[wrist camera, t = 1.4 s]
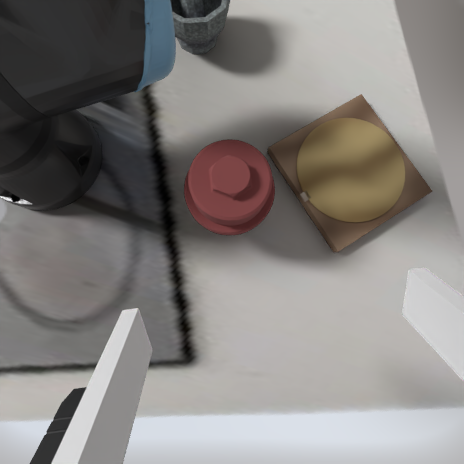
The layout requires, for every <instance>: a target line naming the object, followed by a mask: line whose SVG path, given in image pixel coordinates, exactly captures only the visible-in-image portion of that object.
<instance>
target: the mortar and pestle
mask: <svg viewBox="0 0 464 464" xmlns="http://www.w3.org/2000/svg"><path fill="white" fill-rule="evenodd" d="M170 2H171V7H172V14H173V22H174V30H175V37H177V39H178V41H179V43H180V45H181V48H182V49H184V50H186V51H188V52H190V53H192V54H202V53H206V52H208V51H209V50H210V49H212V48H213V47H214V46H215V44H216V40H217V36H218V34H220V32H221V31H222V29H223V28H224V25H225V21H226V17H227V13H228V9H229V3H230V0H170Z"/></svg>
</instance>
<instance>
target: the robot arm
mask: <svg viewBox="0 0 464 464" xmlns="http://www.w3.org/2000/svg"><path fill="white" fill-rule="evenodd" d="M175 55H176V41H175V30H174V22H173V14H172V7H171V2H170V0H0V198H2V199H3V200H5V201H7V202H9V203H12V204H15V205H18V206H21V207H24V208H27V209H32V210H51V209H56V208H60V207H63V206H65V205H68V204H70V203H72V202H73V201H75V200H77V199H78V198H79V197H81V196H82V195H83V194H84V193H85V192H86V191H87V190H88V189H89V188H90V187H91V185H92V184H93V182H94V181H95V179H96V177H97V175H98V173H99V170H100V166H101V161H102V148H101V143H100V140H99V137H98V135H97V133H96V131H95V129H94V128H93V127H92V125H91V124H90V123H89V122H88V121H87V120H86V119H85V117H84V116H83V115H82V114H81V113H79V112H78V111H77V110H76V109H79V108H82V107H86V106H89V105H92V104H95V103H98V102H102V101H105V100H108V99H111V98H114V97H118V96H121V95H124V94H127V93H130V92H138V91H139V90H141V89H142V88H143V87H144V86H147V85H149V84H152V83H154V82H157V81H159V80H162V79H164V78H165V77H166V76H168V75H169V73H170V72H171V71H172V69H173V66H174V62H175ZM402 315H403V316H404V317H405V318H406V319H407V320H408V322H409V323H410V324H411V325H412V326H413V327H414V328H415V329H416V330H417V331H418V332H419V333H420V335H421V336H422V337H423V338H424V339H425V340H426V341H427V342H428V343H429V344H430V345H431V347H432V348H433V349H434V350H435V351H436V352H437V353H438V354H439V355H440V356H441V357H442V358H443V360H444V361H445V362H446V363H447V364H448V365H449V366H450V367H451V368H452V369H453V370H454V371H455V373H456V374H457V375H458V376H459V377H460V378H461V379H462V380H463V381H464V296H463V295H462V294H460V293H459V292H457V291H456V290H455V289H453V288H452V287H451V286H449V285H448V284H447V283H445V282H444V281H443V280H441V279H440V278H439V277H437V276H436V275H435V274H433V273H432V272H431V271H429V270H428V269H426V268H425V267H422V268H415V269H409V272H408V278H407V285H406V291H405V297H404V304H403V310H402ZM151 354H152V347H151V344H150V341H149V338H148V335H147V332H146V329H145V326H144V323H143V320H142V317H141V314H140V311H139V308H135V309H128V310H123V311H122V313H121V315H120V317H119V319H118V321H117V323H116V326H115V328H114V330H113V332H112V334H111V336H110V339H109V341H108V343H107V345H106V347H105V349H104V351H103V354H102V356H101V358H100V360H99V362H98V364H97V366H96V369H95V371H94V373H93V375H92V377H91V379H90V382H89V384H88V386H87V387H85V388H78V389H74V390H73V391H72V392H71V393H70V394H69V395H68V396H67V398H66V399H65V400H64V401H63V402H62V403H61V405H60V407H59V409H58V411H57V413H56V415H55V417H54V420H53V422H51V424H50V426H49V428H48V430H47V434H46V435H45V436H44V438H43V440H42V441H41V443H40V445H39V447H38V449H37V451H36V453H35V455H34V457H33V458H32V460H31V462H30V464H123V461H124V457H125V453H126V449H127V446H128V442H129V438H130V434H131V430H132V426H133V423H134V419H135V415H136V411H137V407H138V404H139V400H140V396H141V392H142V388H143V385H144V381H145V377H146V373H147V369H148V366H149V362H150V358H151Z"/></svg>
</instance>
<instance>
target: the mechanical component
mask: <svg viewBox="0 0 464 464" xmlns="http://www.w3.org/2000/svg"><path fill="white" fill-rule="evenodd" d="M184 195H185V200H186V204H187V206H188V208H189V210H190V212H191V214H192V215H193V217H194V218H195V220H196V221H197V222H198V223H199V224H200V225H202V226H203V227H204V228H206V229H208V230H209V231H212V232H214V233H217V234H221V235H237V234H242V233H245V232H248V231H250V230H251V229H253V228H255V227H256V226H257V225H259V224H260V223H261V222H262V221H263V219H264V218H265V217H266V215H267V214H268V212H269V211H270V209H271V207H272V204H273V200H274V195H275V186H274V180H273V177H272V173H271V168H270V166H269V164H268V162H267V160H266V158H265V157H264V156H263V154H262V153H261V152H260V151H259V150H257V149H256V148H255V147H253V146H252V145H250V144H248V143H245V142H242V141H239V140H221V141H217V142H214V143H212V144H210V145H208V146H206V147H205V148H204V149H202V150H201V151H200V152H199V153H198V154H197V156H196V157H195V158H194V160H193V162H192V164H191V166H190V169H189V171H188V173H187V176H186V179H185V184H184Z"/></svg>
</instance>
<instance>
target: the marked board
mask: <svg viewBox="0 0 464 464" xmlns="http://www.w3.org/2000/svg"><path fill="white" fill-rule="evenodd" d="M267 152H268V154H269V155H270V157H271V158H272V160H273V161H274V163H275V165H276V166H277V168H278V169H279V171H280V172H281V174H282V175H283V177H284V178H285V180H286V181H287V183H288V184H289V186H290V187H291V189H292V190H293V192H294V193H295V195H296V196H297V198H298V199H299V201H300V202H301V204H302V205H303V207H304V208H305V210H306V211H307V213H308V214H309V216H310V217H311V219H312V220H313V222H314V223H315V225H316V226H317V228H318V229H319V231H320V232H321V234H322V236H323V237H324V239H325V240H326V242H327V243H328V245H329V246H330V248H331V249H332V251H333V252H339V251H340V250H342V249H343V248H345V247H346V246H348V245H350V244H351V243H353V242H354V241H356V240H357V239H359V238H360V237H362V236H364V235H365V234H367V233H368V232H370V231H371V230H373V229H374V228H376V227H378V226H379V225H381V224H382V223H384V222H385V221H387V220H389V219H390V218H392V217H393V216H395V215H396V214H398V213H399V212H401V211H403V210H404V209H406V208H407V207H409V206H410V205H412V204H413V203H415V202H417V201H418V200H420V199H421V198H423V197H424V196H426V195H427V194H429V193H431V192H432V190H431V189H430V187H429V186H428V185H427V183H426V182H425V180H424V179H423V178H422V176H421V175H420V174H419V172H418V171H417V170H416V168H415V167H414V165H413V164H412V163H411V161H410V160H409V159H408V157H407V156H406V154H405V153H404V152H403V150H402V149H401V148H400V146H399V145H398V144H397V142H396V141H395V139H394V138H393V137H392V135H391V134H390V133H389V131H388V130H387V128H386V127H385V126H384V124H383V123H382V122H381V120H380V119H379V118H378V116H377V115H376V113H375V112H374V111H373V109H372V108H371V107H370V105H369V104H368V103H367V101H366V100H365V98H364V97H363V96H362V94H361V95H359V96H357V97H356V98H354V99H352V100H350V101H349V102H347V103H345V104H343V105H342V106H340V107H338V108H336V109H335V110H333V111H331V112H329V113H328V114H326V115H324V116H322V117H321V118H319V119H317V120H315V121H314V122H312V123H310V124H308V125H307V126H305V127H303V128H301V129H300V130H298V131H296V132H294V133H293V134H291V135H289V136H288V137H286V138H284V139H282V140H281V141H279V142H277V143H275V144H274V145H272V146H270V147H269V148H268V151H267Z"/></svg>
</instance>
